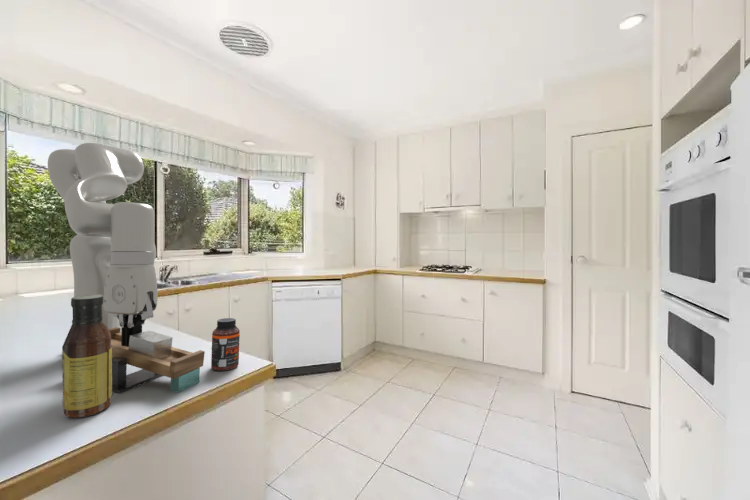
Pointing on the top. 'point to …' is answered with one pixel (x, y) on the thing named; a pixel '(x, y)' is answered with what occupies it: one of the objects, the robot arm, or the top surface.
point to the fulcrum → (146, 377)
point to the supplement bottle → (225, 345)
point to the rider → (151, 344)
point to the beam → (166, 366)
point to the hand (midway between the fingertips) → (131, 344)
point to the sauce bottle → (87, 360)
